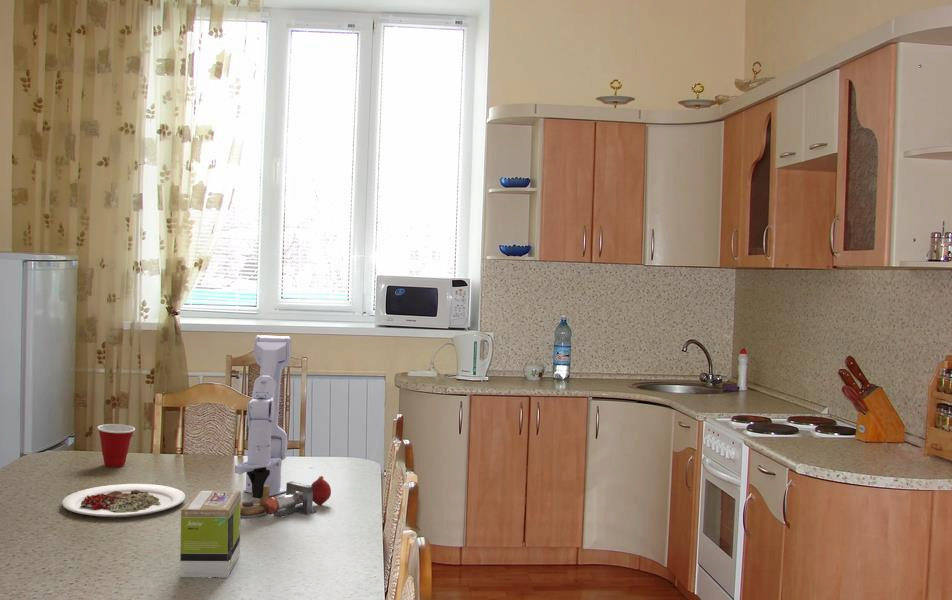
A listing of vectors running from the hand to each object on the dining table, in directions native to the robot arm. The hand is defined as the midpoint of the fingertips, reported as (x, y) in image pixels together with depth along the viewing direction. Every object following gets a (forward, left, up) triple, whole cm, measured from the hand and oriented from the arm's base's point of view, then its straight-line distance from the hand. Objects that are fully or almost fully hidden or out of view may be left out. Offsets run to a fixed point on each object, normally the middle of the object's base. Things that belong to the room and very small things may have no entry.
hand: (257, 497), depth 236 cm
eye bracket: (+7, +5, -4) cm, 9 cm away
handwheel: (-2, -1, -4) cm, 5 cm away
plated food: (-30, -17, -4) cm, 35 cm away
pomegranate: (+7, +16, -4) cm, 18 cm away
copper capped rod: (+7, +4, -3) cm, 8 cm away
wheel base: (-2, -1, -4) cm, 5 cm away
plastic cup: (-68, +7, -4) cm, 69 cm away
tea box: (+23, -34, -4) cm, 41 cm away
